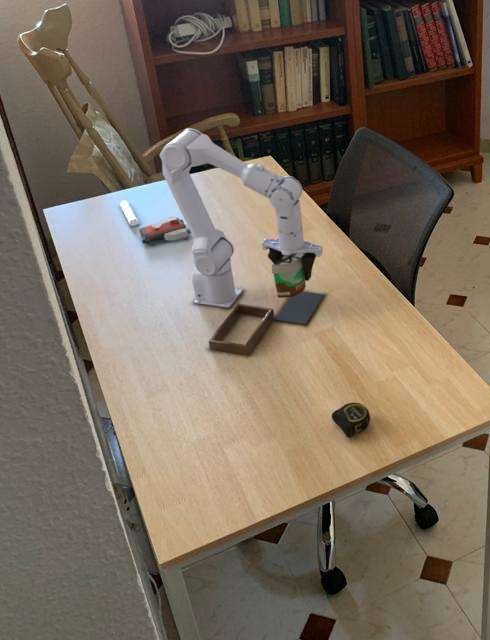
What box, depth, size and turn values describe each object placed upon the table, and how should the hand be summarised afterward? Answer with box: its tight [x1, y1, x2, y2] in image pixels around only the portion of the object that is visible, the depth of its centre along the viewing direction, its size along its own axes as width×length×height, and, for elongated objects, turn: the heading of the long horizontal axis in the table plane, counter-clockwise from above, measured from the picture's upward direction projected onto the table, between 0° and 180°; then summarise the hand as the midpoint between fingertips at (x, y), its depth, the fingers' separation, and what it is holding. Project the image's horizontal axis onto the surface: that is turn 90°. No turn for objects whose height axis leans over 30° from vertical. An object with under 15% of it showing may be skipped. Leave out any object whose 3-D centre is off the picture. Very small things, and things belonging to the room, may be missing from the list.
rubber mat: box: [274, 291, 325, 326], centre depth 198 cm, size 8×13×1 cm, turn 167°
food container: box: [271, 253, 307, 299], centre depth 192 cm, size 12×6×10 cm, turn 168°
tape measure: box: [331, 402, 371, 439], centre depth 162 cm, size 7×7×4 cm
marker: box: [119, 200, 139, 227], centre depth 238 cm, size 3×2×16 cm
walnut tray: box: [208, 303, 276, 356], centre depth 188 cm, size 9×15×2 cm, turn 167°
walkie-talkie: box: [138, 216, 192, 245], centre depth 227 cm, size 9×4×20 cm
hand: (295, 276), depth 193 cm, fingers closed on food container, 6 cm apart
